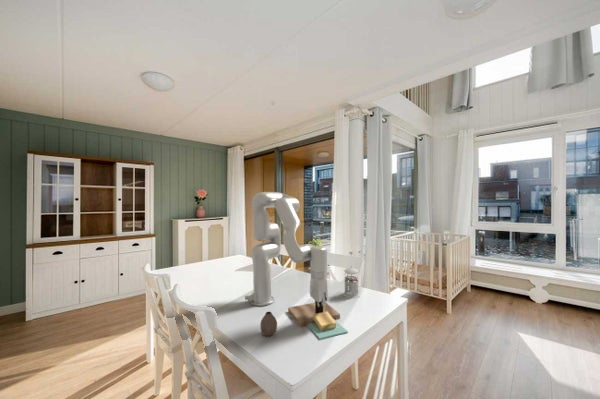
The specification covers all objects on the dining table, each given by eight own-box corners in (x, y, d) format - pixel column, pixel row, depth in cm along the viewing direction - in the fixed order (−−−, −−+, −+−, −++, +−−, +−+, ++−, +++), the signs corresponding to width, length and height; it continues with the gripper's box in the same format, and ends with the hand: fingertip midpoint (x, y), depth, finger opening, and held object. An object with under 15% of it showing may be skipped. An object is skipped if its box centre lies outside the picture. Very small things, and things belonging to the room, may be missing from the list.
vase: (261, 329, 106) (260, 309, 106) (277, 329, 106) (277, 308, 106) (259, 339, 99) (259, 317, 99) (277, 338, 99) (276, 316, 99)
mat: (319, 339, 98) (319, 338, 98) (307, 325, 109) (307, 324, 109) (347, 332, 103) (347, 331, 103) (333, 319, 114) (333, 318, 114)
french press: (347, 298, 137) (347, 253, 137) (338, 291, 148) (338, 249, 148) (363, 296, 140) (363, 252, 140) (353, 289, 151) (353, 248, 151)
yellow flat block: (321, 331, 103) (321, 325, 102) (313, 319, 110) (313, 314, 110) (335, 327, 105) (336, 322, 105) (327, 316, 113) (327, 311, 112)
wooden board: (300, 326, 108) (300, 322, 108) (288, 311, 122) (288, 307, 122) (340, 318, 115) (339, 314, 115) (324, 304, 130) (324, 301, 130)
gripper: (304, 270, 118) (305, 308, 118) (318, 280, 104) (319, 323, 104) (319, 268, 121) (319, 306, 121) (334, 277, 107) (334, 320, 107)
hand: (319, 314), depth 113 cm, fingers closed
